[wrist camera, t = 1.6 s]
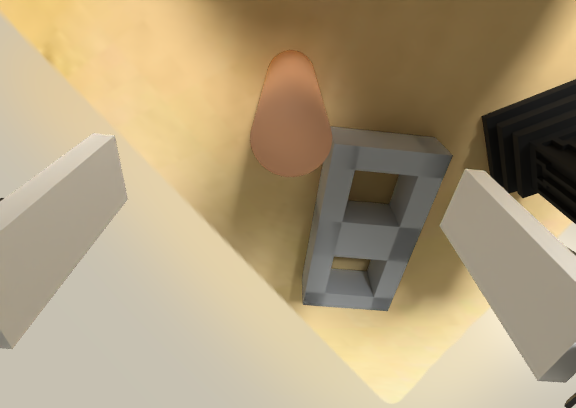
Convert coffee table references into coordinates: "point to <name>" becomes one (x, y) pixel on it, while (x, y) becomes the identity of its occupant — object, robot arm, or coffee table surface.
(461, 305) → the coffee table surface
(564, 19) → the coffee table surface
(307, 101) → the dowel
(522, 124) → the chess piece
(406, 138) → the socket board
